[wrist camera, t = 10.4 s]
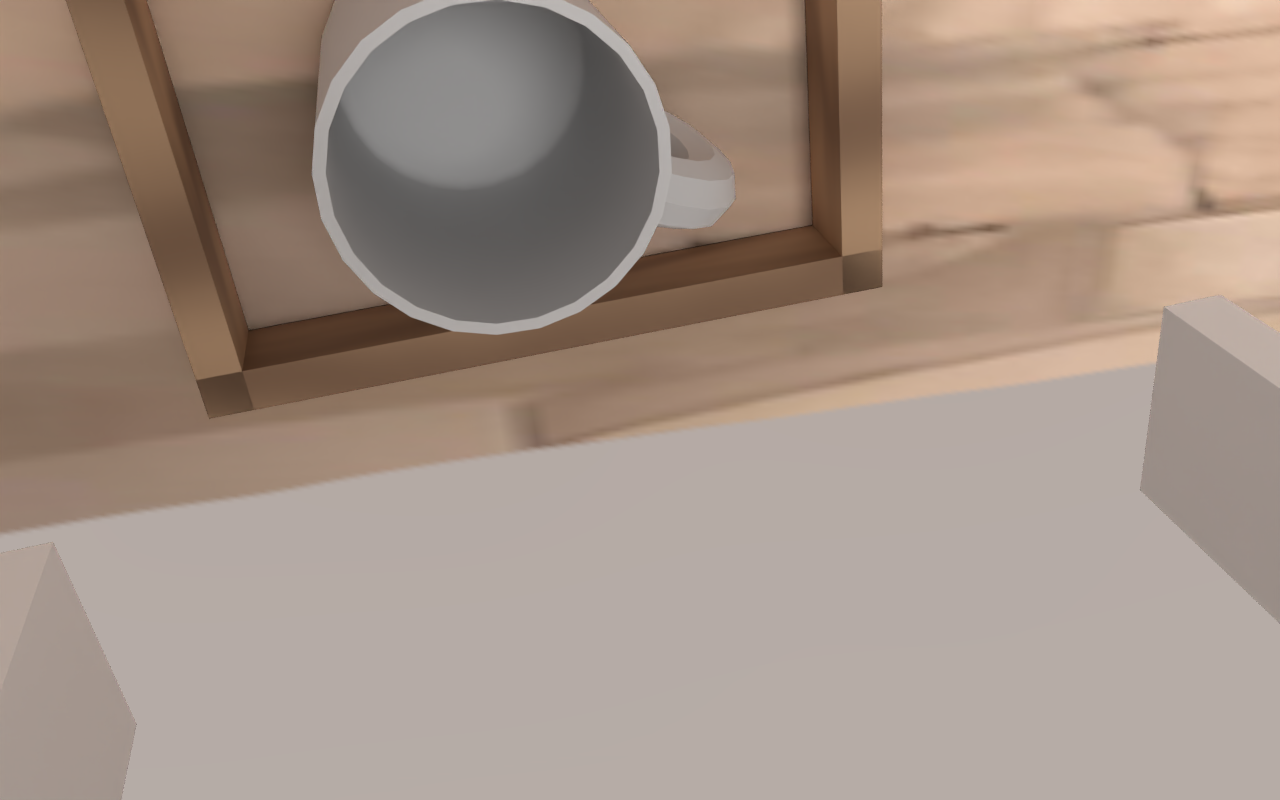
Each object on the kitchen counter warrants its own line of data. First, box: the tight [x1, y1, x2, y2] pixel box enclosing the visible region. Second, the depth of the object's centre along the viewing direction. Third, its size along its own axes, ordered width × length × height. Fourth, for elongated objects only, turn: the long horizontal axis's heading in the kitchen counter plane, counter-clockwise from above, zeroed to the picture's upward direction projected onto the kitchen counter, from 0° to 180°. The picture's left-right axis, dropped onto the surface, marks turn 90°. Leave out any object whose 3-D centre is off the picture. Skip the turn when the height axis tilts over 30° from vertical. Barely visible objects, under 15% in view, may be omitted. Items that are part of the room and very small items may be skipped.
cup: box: [312, 0, 736, 335], centre depth 28 cm, size 7×10×9 cm
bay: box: [66, 0, 882, 419], centre depth 32 cm, size 11×19×2 cm, turn 96°
